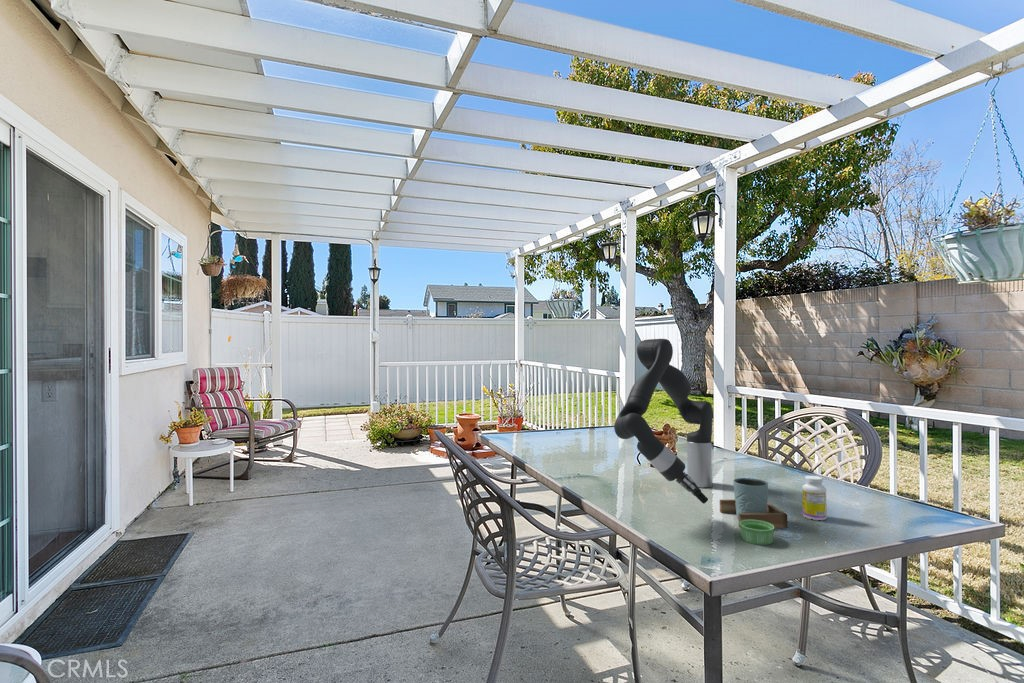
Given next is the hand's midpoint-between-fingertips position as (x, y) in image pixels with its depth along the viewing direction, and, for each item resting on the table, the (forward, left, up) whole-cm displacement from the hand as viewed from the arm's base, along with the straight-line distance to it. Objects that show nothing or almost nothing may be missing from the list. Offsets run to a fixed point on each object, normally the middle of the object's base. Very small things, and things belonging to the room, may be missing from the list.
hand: (705, 501), depth 161 cm
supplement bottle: (-1, +35, -6) cm, 36 cm away
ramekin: (+17, +8, -6) cm, 20 cm away
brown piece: (0, +14, -6) cm, 15 cm away
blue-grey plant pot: (0, +14, -6) cm, 16 cm away
